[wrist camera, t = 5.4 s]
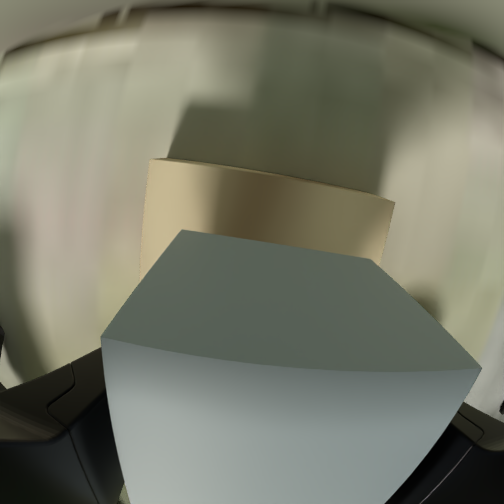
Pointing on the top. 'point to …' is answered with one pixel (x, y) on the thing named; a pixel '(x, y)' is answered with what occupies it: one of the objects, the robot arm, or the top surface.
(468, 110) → the top surface
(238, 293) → the blue-grey cube
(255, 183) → the beech slab
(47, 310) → the top surface
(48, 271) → the top surface
